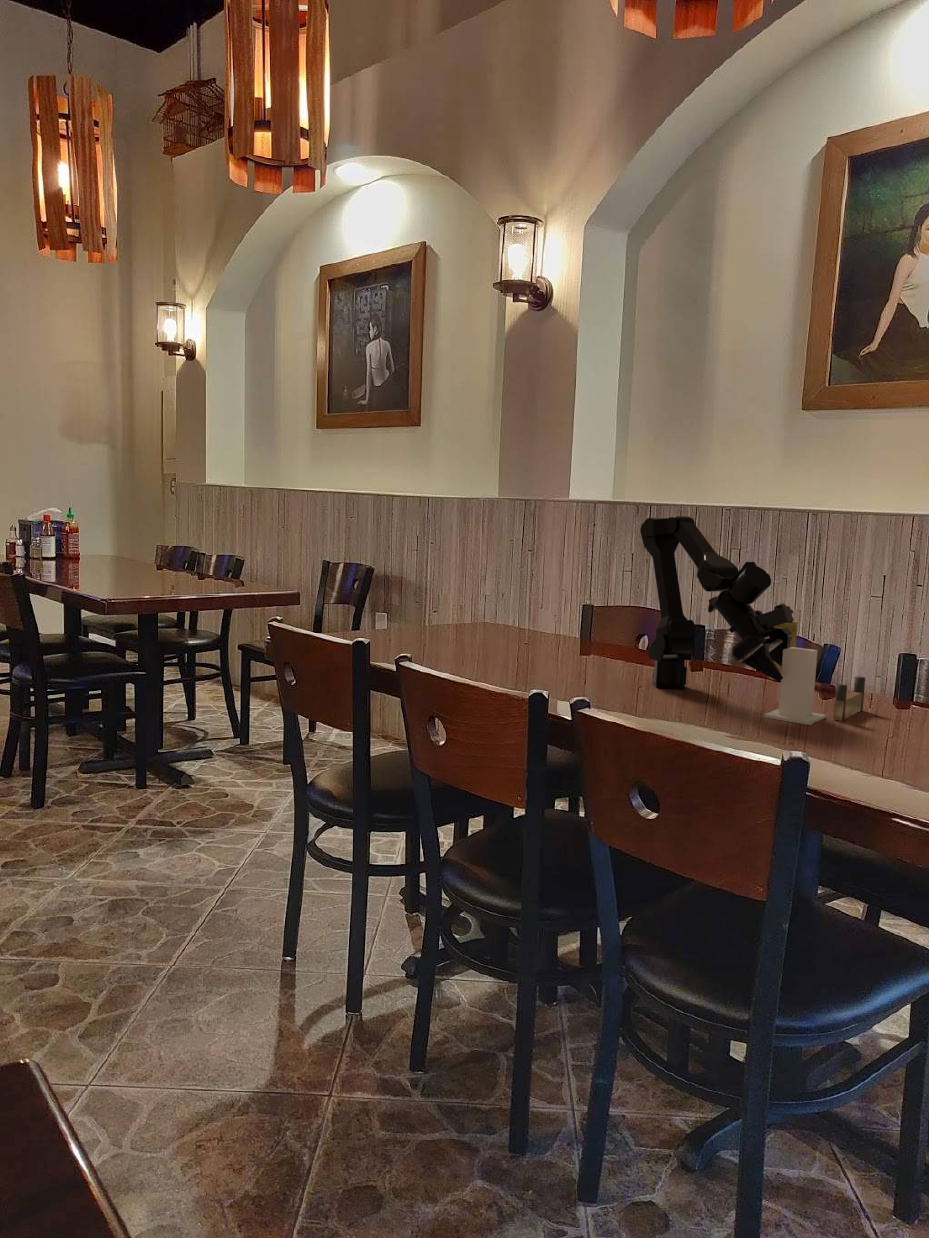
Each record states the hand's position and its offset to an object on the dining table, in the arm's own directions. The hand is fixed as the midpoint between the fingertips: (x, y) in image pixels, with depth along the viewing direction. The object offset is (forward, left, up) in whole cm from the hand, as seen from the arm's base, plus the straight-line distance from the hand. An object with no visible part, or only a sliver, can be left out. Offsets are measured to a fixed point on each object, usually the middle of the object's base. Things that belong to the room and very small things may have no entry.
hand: (789, 676), depth 186 cm
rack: (+13, +3, -8) cm, 16 cm away
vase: (+11, +41, -8) cm, 43 cm away
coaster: (+1, -1, -8) cm, 8 cm away
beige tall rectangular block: (+1, -1, -7) cm, 8 cm away
